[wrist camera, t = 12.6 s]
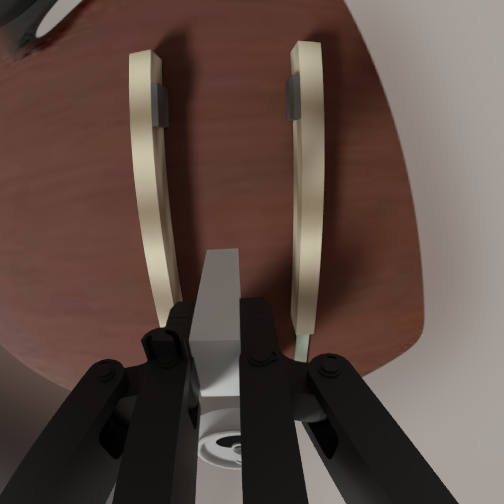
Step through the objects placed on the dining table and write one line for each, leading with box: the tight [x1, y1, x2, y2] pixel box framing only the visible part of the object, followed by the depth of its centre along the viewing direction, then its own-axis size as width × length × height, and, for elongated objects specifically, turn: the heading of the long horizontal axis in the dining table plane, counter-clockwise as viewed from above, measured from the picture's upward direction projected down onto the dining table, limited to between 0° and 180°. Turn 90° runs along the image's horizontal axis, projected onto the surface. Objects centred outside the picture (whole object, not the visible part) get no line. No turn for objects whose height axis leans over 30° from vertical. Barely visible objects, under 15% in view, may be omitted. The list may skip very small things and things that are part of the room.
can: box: [198, 392, 242, 469], centre depth 22 cm, size 8×8×12 cm
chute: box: [129, 41, 324, 362], centre depth 22 cm, size 30×13×3 cm, turn 2°
